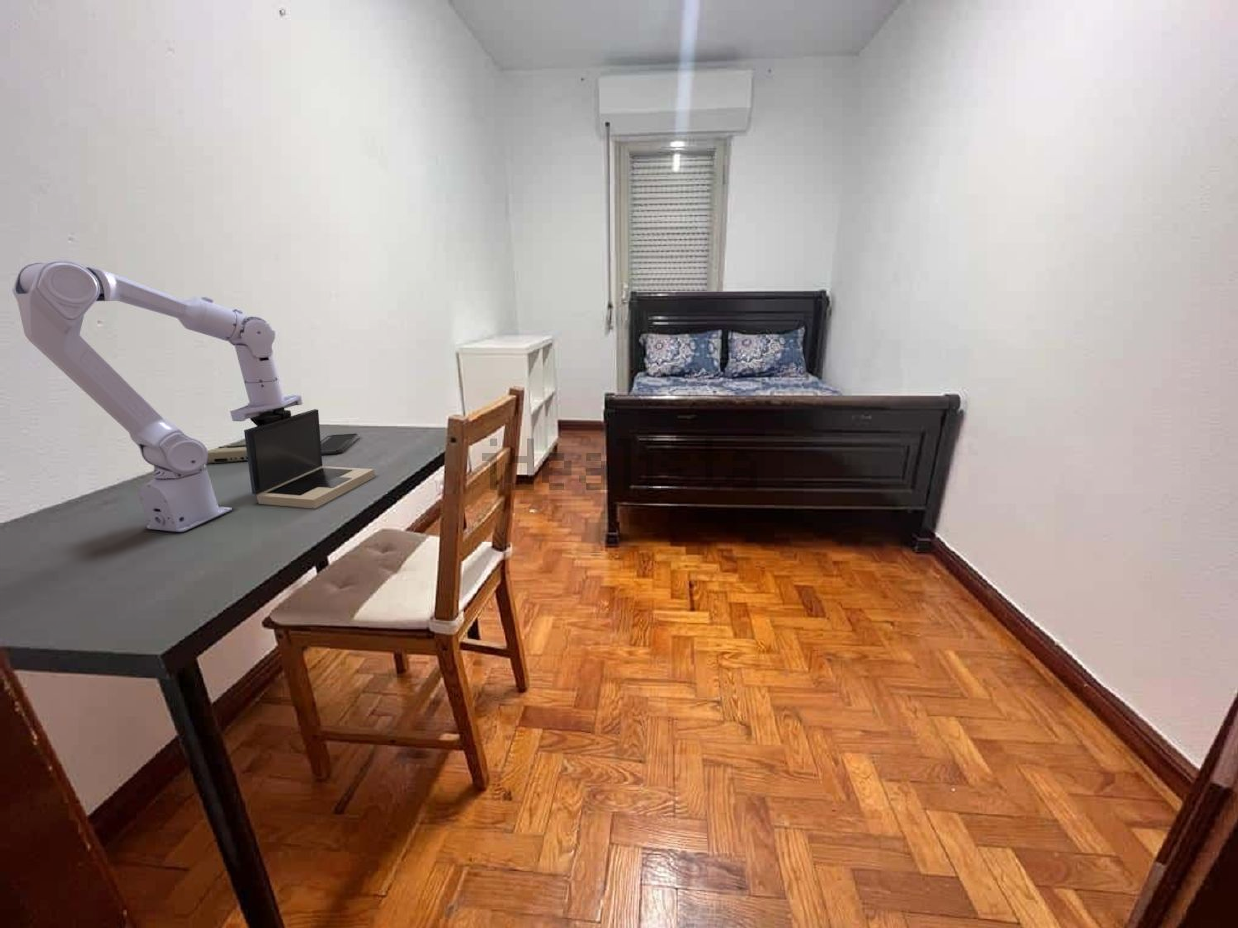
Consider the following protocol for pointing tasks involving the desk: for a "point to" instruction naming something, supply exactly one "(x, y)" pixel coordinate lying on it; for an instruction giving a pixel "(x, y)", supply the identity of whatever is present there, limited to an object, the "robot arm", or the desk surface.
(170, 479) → the robot arm
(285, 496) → the laptop
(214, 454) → the computer
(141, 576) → the desk surface
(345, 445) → the phone
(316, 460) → the laptop screen
